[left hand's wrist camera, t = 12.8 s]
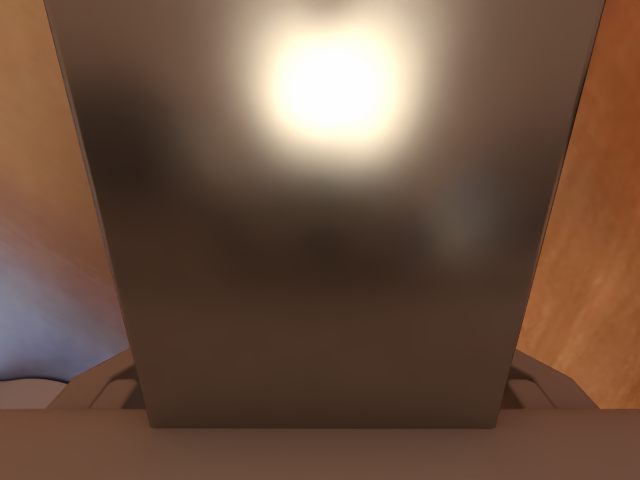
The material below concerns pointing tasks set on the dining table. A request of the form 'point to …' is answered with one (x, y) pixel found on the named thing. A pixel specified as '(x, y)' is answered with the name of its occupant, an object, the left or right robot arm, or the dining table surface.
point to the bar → (323, 197)
